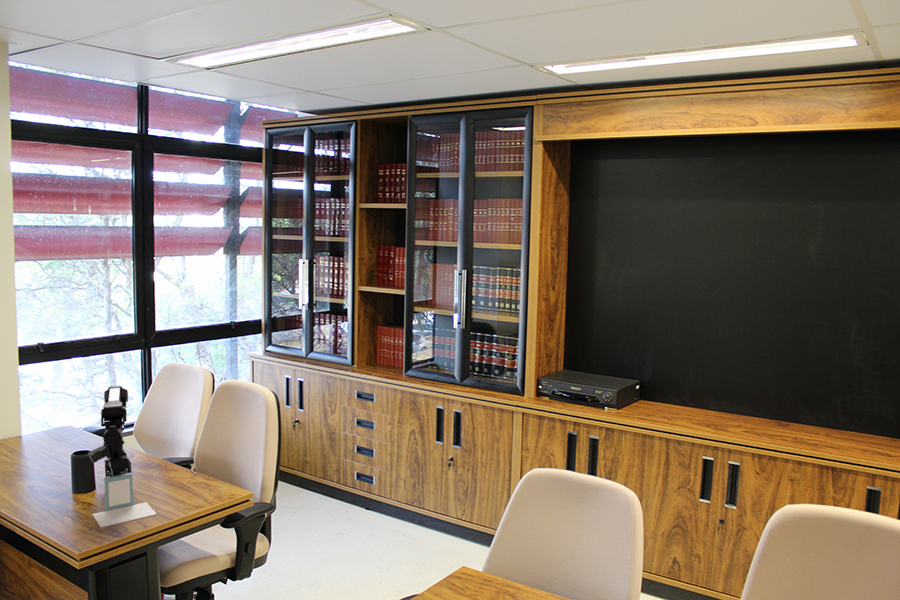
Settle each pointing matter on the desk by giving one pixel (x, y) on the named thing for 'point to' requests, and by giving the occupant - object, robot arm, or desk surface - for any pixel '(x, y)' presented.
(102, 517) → the mat
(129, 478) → the tile
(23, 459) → the desk surface
